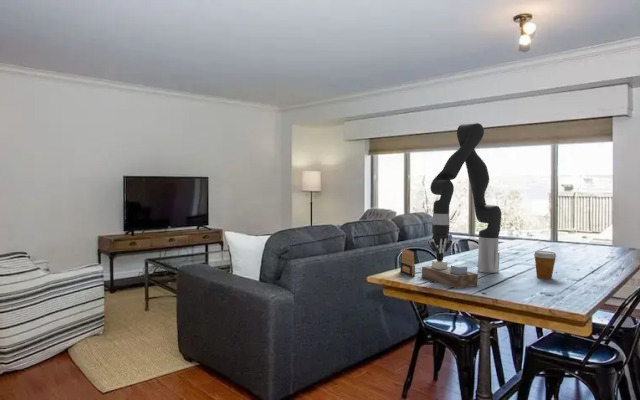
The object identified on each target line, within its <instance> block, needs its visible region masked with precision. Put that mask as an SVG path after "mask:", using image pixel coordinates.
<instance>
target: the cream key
mask: <svg viewBox="0 0 640 400" xmlns="http://www.w3.org/2000/svg"><path fill="white" fill-rule="evenodd" d="M431 266H432V268H436V269H447V266H448V261H445V260H443V261H440V262H439V261H437V259H436V260H432V261H431Z"/></svg>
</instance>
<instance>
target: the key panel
mask: <svg viewBox="0 0 640 400" xmlns="http://www.w3.org/2000/svg"><path fill="white" fill-rule="evenodd" d="M478 277H479V274H478V273H475V272H471V271H468V270H467V274H461V275H458V274H454V273H451V266H448V265H447V269H436V268H432V265H428V266H421V278H422V279H425V280H428V281H432V282H435V283H439V284H441V285H445V286H447V287H448V286H449V287H450V288H454V289H461V288H469V287H477V286H479V285H478V284H479V283H478V279H479V278H478Z"/></svg>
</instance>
